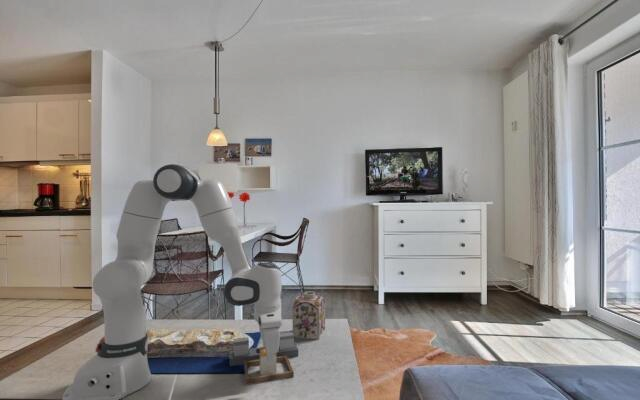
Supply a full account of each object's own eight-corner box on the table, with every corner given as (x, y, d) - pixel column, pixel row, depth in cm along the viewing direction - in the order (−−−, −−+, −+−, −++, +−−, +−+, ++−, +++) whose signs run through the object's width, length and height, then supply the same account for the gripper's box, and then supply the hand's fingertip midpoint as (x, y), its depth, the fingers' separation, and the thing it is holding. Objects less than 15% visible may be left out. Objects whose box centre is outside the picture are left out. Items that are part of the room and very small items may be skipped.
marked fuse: (260, 376, 102) (260, 353, 102) (259, 371, 105) (259, 349, 105) (276, 373, 104) (276, 351, 104) (274, 369, 107) (274, 347, 107)
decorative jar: (325, 331, 140) (325, 290, 141) (319, 342, 129) (319, 297, 129) (299, 328, 143) (299, 288, 143) (291, 339, 132) (291, 295, 132)
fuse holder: (230, 369, 108) (230, 358, 108) (229, 361, 113) (229, 351, 113) (298, 359, 115) (298, 349, 115) (294, 352, 120) (294, 342, 120)
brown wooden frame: (246, 387, 97) (246, 379, 97) (243, 369, 108) (243, 361, 108) (293, 380, 101) (293, 372, 101) (286, 362, 112) (286, 355, 112)
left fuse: (233, 363, 110) (233, 342, 110) (233, 359, 112) (233, 339, 113) (248, 361, 111) (248, 340, 111) (248, 357, 114) (248, 337, 114)
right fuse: (280, 357, 114) (280, 336, 114) (278, 353, 117) (278, 333, 117) (294, 355, 116) (293, 335, 116) (292, 351, 119) (292, 332, 119)
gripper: (255, 304, 114) (255, 343, 114) (261, 325, 94) (261, 372, 94) (272, 302, 116) (272, 341, 115) (283, 322, 96) (282, 369, 96)
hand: (267, 355), depth 105 cm, fingers open, 8 cm apart
